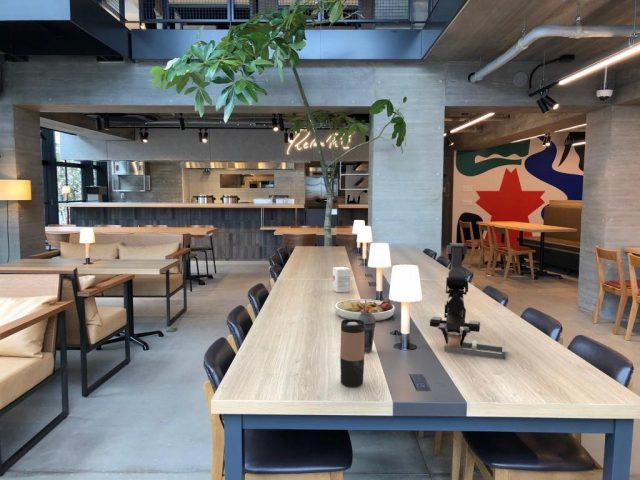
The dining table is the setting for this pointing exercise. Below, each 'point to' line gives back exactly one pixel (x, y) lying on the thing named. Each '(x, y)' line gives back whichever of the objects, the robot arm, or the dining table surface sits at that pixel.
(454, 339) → the jar
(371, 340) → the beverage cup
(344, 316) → the bowl
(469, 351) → the lane
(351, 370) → the travel mug
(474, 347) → the pusher plate
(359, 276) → the dining table surface
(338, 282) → the supplement box
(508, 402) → the dining table surface
